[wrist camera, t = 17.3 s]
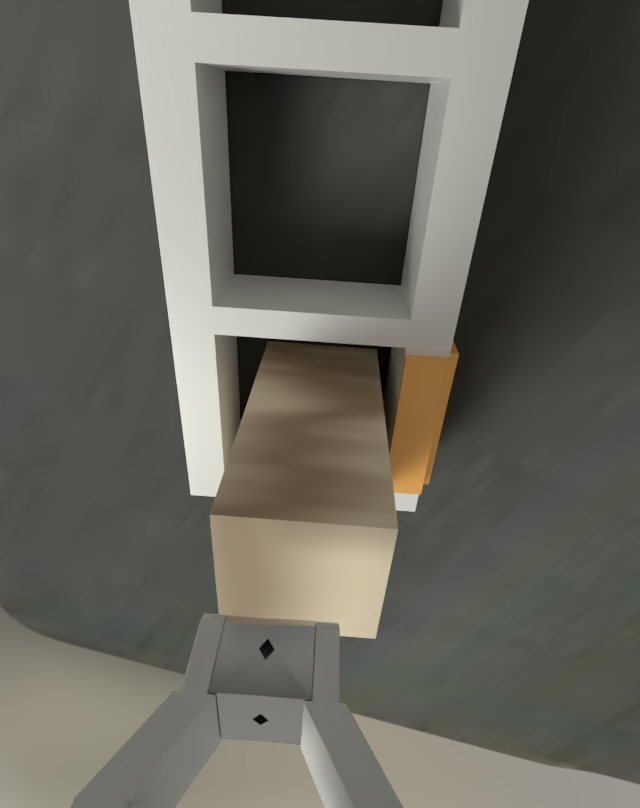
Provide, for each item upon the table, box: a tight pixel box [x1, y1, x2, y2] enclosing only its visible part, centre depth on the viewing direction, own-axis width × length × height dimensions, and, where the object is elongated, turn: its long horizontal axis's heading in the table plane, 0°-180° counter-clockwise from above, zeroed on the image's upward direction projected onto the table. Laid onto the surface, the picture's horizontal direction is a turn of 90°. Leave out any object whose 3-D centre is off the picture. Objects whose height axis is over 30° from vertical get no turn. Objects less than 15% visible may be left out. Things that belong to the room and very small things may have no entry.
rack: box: [129, 0, 529, 512], centre depth 15 cm, size 10×24×4 cm, turn 177°
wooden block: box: [210, 341, 398, 639], centre depth 17 cm, size 5×5×10 cm
